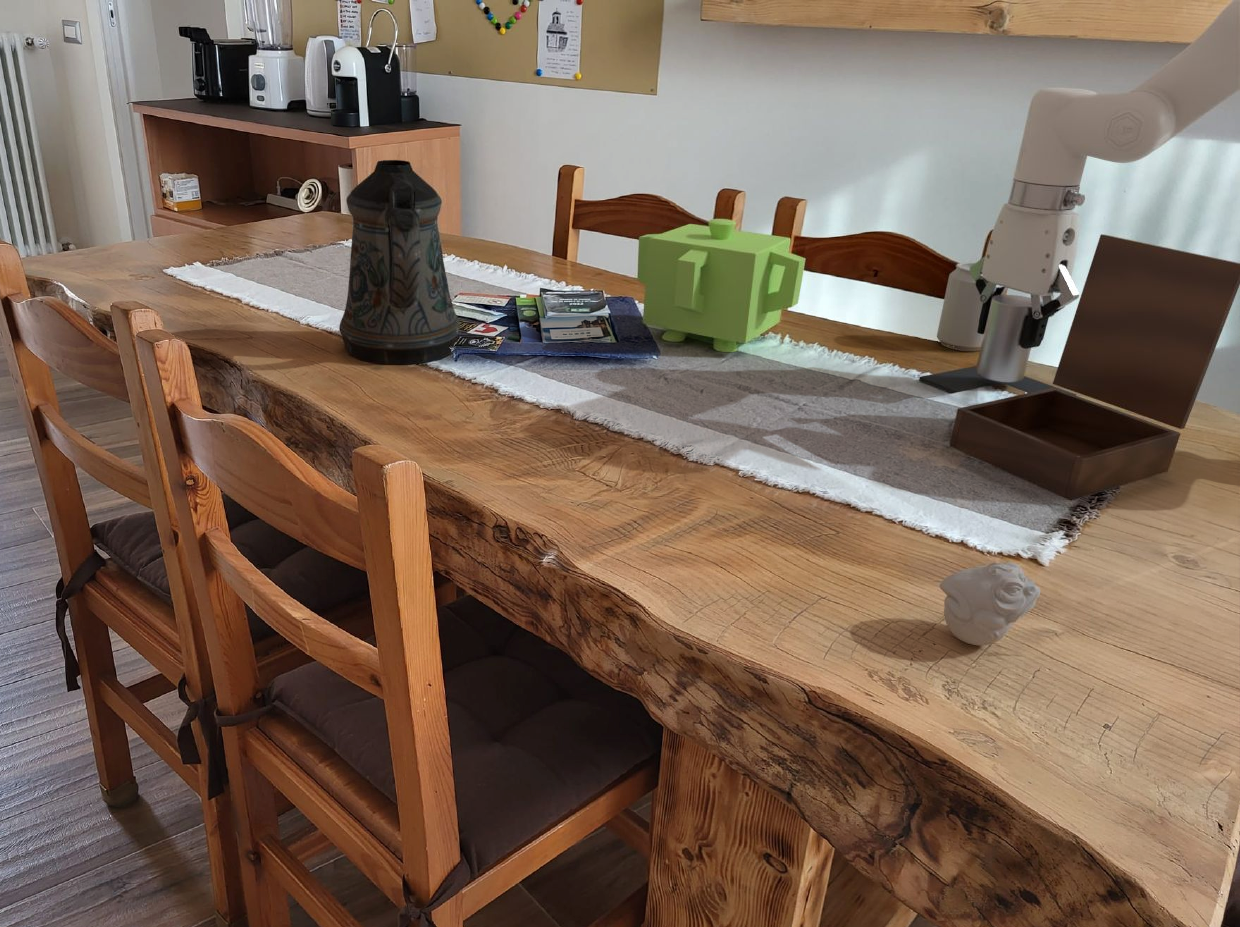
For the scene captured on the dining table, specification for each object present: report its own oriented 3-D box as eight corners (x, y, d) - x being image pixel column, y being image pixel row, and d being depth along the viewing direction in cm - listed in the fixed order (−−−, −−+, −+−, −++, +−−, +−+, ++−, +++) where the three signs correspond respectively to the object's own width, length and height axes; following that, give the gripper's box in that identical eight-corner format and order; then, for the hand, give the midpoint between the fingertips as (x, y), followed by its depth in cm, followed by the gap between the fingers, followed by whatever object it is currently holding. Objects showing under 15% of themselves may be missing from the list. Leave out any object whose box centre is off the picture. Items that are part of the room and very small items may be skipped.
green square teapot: (814, 334, 154) (832, 220, 146) (761, 372, 136) (777, 245, 129) (668, 307, 165) (677, 199, 157) (601, 339, 148) (608, 220, 140)
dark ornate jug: (415, 324, 151) (410, 150, 140) (496, 356, 139) (497, 168, 127) (318, 343, 141) (304, 157, 130) (396, 380, 128) (388, 178, 117)
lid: (1243, 264, 99) (1268, 264, 101) (1100, 234, 111) (1125, 235, 113) (1180, 429, 106) (1204, 425, 108) (1052, 384, 118) (1076, 381, 120)
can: (997, 348, 150) (1016, 268, 145) (967, 355, 146) (985, 274, 141) (955, 335, 156) (972, 258, 150) (925, 342, 152) (941, 263, 147)
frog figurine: (1022, 672, 75) (1045, 593, 72) (925, 649, 77) (944, 571, 74) (1022, 632, 80) (1044, 556, 77) (932, 611, 82) (949, 537, 79)
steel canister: (995, 365, 136) (1012, 292, 132) (1033, 378, 131) (1052, 303, 127) (965, 371, 133) (982, 297, 129) (1002, 385, 129) (1021, 308, 124)
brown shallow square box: (1069, 507, 101) (1083, 459, 99) (947, 452, 113) (957, 408, 111) (1165, 477, 109) (1181, 432, 107) (1042, 428, 121) (1053, 387, 119)
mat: (987, 367, 142) (988, 363, 142) (1075, 398, 131) (1076, 394, 131) (918, 380, 136) (919, 376, 135) (1004, 414, 125) (1005, 410, 124)
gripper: (1126, 207, 117) (1085, 355, 125) (1003, 184, 131) (973, 319, 139) (1086, 211, 114) (1046, 362, 122) (964, 187, 127) (936, 325, 135)
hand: (1008, 338), depth 130 cm, fingers closed on steel canister, 6 cm apart
